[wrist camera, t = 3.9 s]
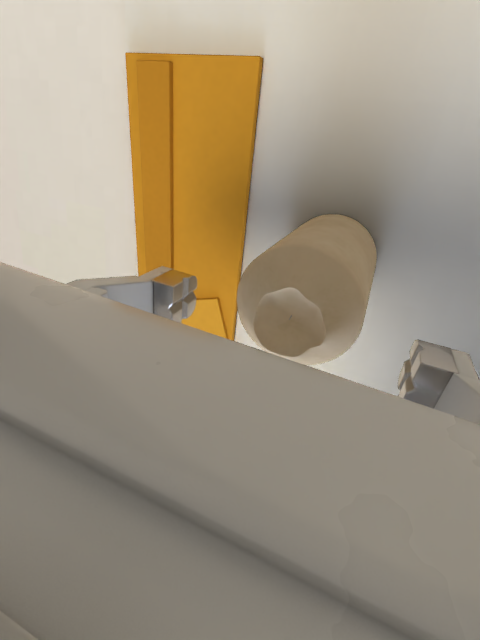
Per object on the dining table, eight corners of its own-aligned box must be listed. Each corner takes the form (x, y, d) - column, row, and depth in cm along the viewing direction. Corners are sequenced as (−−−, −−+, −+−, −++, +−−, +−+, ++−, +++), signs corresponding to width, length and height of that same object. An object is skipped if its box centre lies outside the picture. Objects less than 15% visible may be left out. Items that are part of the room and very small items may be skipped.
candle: (304, 200, 20) (238, 232, 12) (394, 230, 19) (389, 290, 11) (278, 279, 23) (211, 349, 15) (354, 310, 22) (326, 405, 13)
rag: (265, 58, 18) (259, 53, 17) (232, 368, 28) (227, 374, 27) (130, 54, 21) (120, 50, 20) (145, 338, 31) (139, 342, 30)
